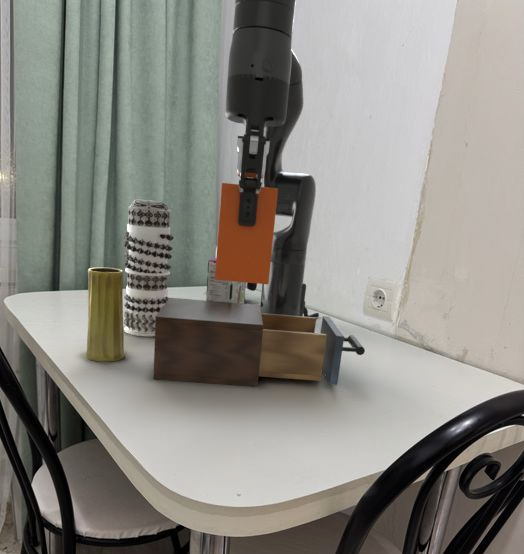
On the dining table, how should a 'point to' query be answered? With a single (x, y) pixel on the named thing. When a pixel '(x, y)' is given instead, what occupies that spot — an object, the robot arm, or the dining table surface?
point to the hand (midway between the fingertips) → (246, 224)
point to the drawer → (302, 348)
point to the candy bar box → (223, 287)
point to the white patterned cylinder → (146, 265)
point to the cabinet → (208, 342)
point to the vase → (105, 315)
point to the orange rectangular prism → (245, 237)
